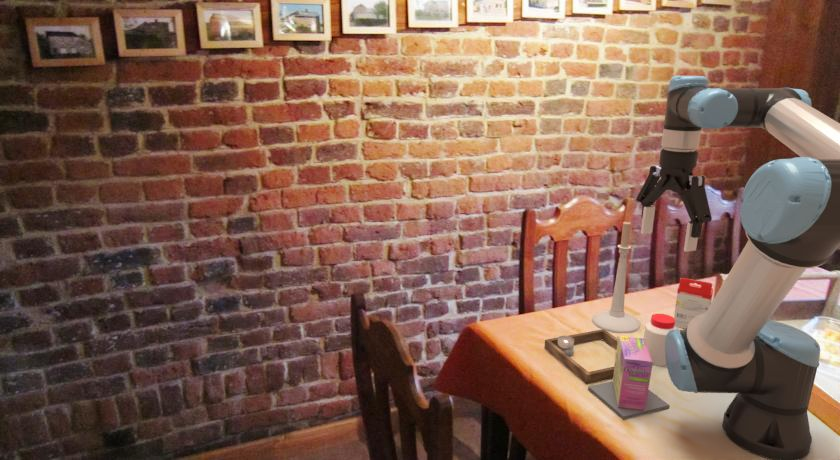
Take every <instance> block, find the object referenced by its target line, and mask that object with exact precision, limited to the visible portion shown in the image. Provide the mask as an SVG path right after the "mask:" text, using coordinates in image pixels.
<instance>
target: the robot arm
mask: <svg viewBox="0 0 840 460" xmlns="http://www.w3.org/2000/svg"><path fill="white" fill-rule="evenodd" d="M666 96H667V98H666V105H665V114H664V122H663V124H664V125H663V130H662V137H661V145H660V146H661V147H662V149H661V150H660V152H659V153H660V154H659V162H658V164H659V165H651V166H650V168H649V172H648V176H647V177H646V179H645V181H644V183H643V185H642V186H641V189H640V191H639V192H638V195H637V196H636V201H637V202H639V203H641V206H642V208H641V226H640V227H641V230H640V234H641V235H648V234H652V233H653V229H654V221H655V213H656V212H655V211H656V206H655V205H656V204H655V203H656V201H658V200H659V198H661V196H662V195H663V194H664V193H665V192H666V191H672V192H674V193H676V194H677V196H679V197H680V198H681V201H682V203H683V205H684V207H685V210H686V212H687V215H688V217H689V219H690V221H687V224H686V225H687V227H686V232H685V239H684V245H683V251H684V252H685V253H686V252H687V253H688V252H694V251H695V252H696V251H697V247H698V240H699V238H700V237H701V234H702V233H701V232H702V227H703V223H709V222H711V221H712V220H713V218H712V213H711V209H710V204H709V201H708V196H707V192H706V188H705V185H706V183H705V182H706V177H705V175H694V173H693V172H694V169H695V168H696V167H697V163H698V157H699V153H698V151H697V150H698V149H699V147H700V141H701V135H702V134H701V133H702V129H704V130H719V129H723V128H754V129H755V128H761V129H763V130H764V131H766V132H767V133H769V134H770V135H771V136H772V137H774V138H775V139H777V140H778V141H779V142H780V143H782V144H783V145H785V146H786V147H788V149H790V150H791V151H792V152H794V153H795V154H797V155H798V156H799V157H798V156H795V157H791V158H779V159H774V160H770V161H768V162H767V163H764V164H763V165H760V166H759V168H757V169H756V170H755V171H754V172H753V174H752V175H751V176H750V178H749V179H748V181H747V182H746V184H745V186H744V189H743V192H742V194H741V198H742V200H743V201H742V203H740V205H739V206H740V207H739V208H740V209H739V214H740V222H741V225H742V227H743V229H744V232H745V236H746V237H747V239H748V240H747V241H746V244H745V246H743V249H742V250H741V252H740V254H739V256H738V257H737V258H736V261H735V262H734V264H733V266H732V268H731V269H730V271H729V273H728V274H727V276H726V278H725V279H724V281H723V283H722V284H721V286H720V288H719V289H718V291H717V293H716V294H715V296H714V298H713V299H712V301H711V305H710V306H709V308H708V310H707V311H706V313H704V314H700V315H698V316H696V317H694V318H693V319H692V320H691V321H690V323H689V324H688V326H687V328H686V329H680V328H678V329H676V330H670V331H669V332H668V333H667V335H666V339H665V358H666V364H667V366H666V368H667V369H666V370H667V372H668V375H669V378H670V380H671V384H673V386H675V387H676V389H678V390H679V391H682V392H689V393H695V394H698V393H701V394H703V393H704V394H705V393H706V394H707V393H708V394H709V393H710V394H713V393H714V394H715V393H716V394H736V395H735V396H734V397H733V399H732V401H731V402H730V403H729V405H728V407H727V408H726V410H725V411H724V414H723V419H722V423H721V425H722V430H723V431H724V433H725V435H726V436H727V437H728V438H729V439H730V440H731V441H732V442H733V443H734V444H736V445H737V446H738V447H741V448H742V449H744V450H746V451H748V452H750V453H752V454H754V455H756V456H757V455H758V456H759V457H763V458H766V459H770V460H803V459H804V458H806V457H807V456H808V455H809V454H810V451H811V447H812V442H813V441H812V440H813V436H812V434H811V429H810V422H809V416H808V410H809V405H810V401H811V396H812V392H813V387H814V383H815V379H816V375H817V371H818V368H819V367H820V357H821V356H820V355H821V347H820V345H819V344H820V343H819V342H818V341H817V340H816V339H815V338H814V337H812V335H810V334H808V333H807V332H805V331H803V330H801V329H799V328H796V327H794V326H791V325H789V324H786V323H783V322H778V321H776V320H770V319H771V317H772V316H773V315H774V314H775V312H776V310H777V309H778V308H779V306H780V305H781V304H782V303H783V301H784V300H785V298H787V295H788V294H789V293H790V292H791V290H792V288H793V287H794V286H795V285H796V284H797V282H798V281H799V279H800V278H801V277H802V276H803V274H804V273H805V271H806V270H807V269H814V268H818V267H819V266H823V265H824V264H826V263H827V261H829V259H830V258H831V256H833V254H834V253H835V252H836V250H837V249H838V247H840V122H838V121H836V120H835V119H833V118H831V117H829V116H828V115H826V114H824V113H823V112H821V111H819V110H818V109H816V108H815V107H812V99H811V98H810V96H809V93H808V92H807V91H806V90H803V89H801V88H791V87H780V88H779V87H778V88H777V87H772V88H770V87H769V88H768V87H767V88H766V87H765V88H763V87H762V88H761V87H760V88H758V87H757V88H756V87H755V88H752V87H751V88H743V87H742V88H741V87H739V88H738V87H709V79H708V77H707V76H705V75H704V76H703V75H674V76H672V77H671V78H670V81H669V85H668V89H667V92H666Z"/></svg>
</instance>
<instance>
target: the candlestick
mask: <svg viewBox="0 0 840 460" xmlns="http://www.w3.org/2000/svg"><path fill="white" fill-rule="evenodd" d="M631 226H632V223H631V221H630V222H629V221H623V222H622V229H621V231H622V232H621V240H620V244H618V245H617V248H618V253H619V258H618V263H617V269H616V276H615V283H614V287H613V294H612V300H611V301H612V302H611V306H610V309H606V310H601V311H598V312H596V313H595V314H593V315H592V320H591V321H592V323H593V324H594V325H595V327H597V328H599V329H600V330H601V329H604V330H605V331H607V332H608V333H609V332H611V333H614V334H631V333H635V332H637V331H638V330H640V327H641V323H640V321H639V320H638V319H637V317H635V316H633V315H632V314H631V313H628V312H626V311H625V297H626V296H625V293H626V278H627V274H626V273H627V263H628V262H627V261H628V259H627V256H628V254H629V253H630V251H629V250H630V249H631V248H632V246H631V245H630V244H629V242H630V235H631Z"/></svg>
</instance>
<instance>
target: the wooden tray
mask: <svg viewBox="0 0 840 460" xmlns="http://www.w3.org/2000/svg"><path fill="white" fill-rule="evenodd" d="M568 336H570V337H572V338H573V339H574V346H575V345H580V344H584V343H591V342H595V341H601V340H602V341H603V342H605V343H606V344H607V345H609V346H611V348H613V349H615V350H617V342H618V337H616V336H614V335H612V334H611V333H609V331H606V330H604V329H601V328H600V329H597V330H592V331H587V332H581V333H575V334H570V335H568ZM557 344H558V337H554V338H548V339H544V349H545V350H546V351H547V352H548V353H549V354H551V355H552V356H553V357H554V358H555V359H557V360H558V361H559V362H560V363H561V364H562V365H563V366H565V367H566V368H567V369H568V370H569V371H570V372H571V373H573V374H574V375H575V376H576V377H577V378H579V380H581V381H582V382H583V383H585V385H588V384H594V383H598V382H602V381H607V380H613V375H614V366H611V367H610V366H609V367H606V368H602V369H601V368H600V369H597V370H596V369H595V370H592V371H591V370H590V371H588V370H587V369H585V368H584V367H583V366H581V364H580V363H578V362H577V361H576V360H574V359H573V358H572V356H571V357H569V356H568V355H567V354H566V353H565V352H563V351H562V350H561V349H560V348H558V347H557Z"/></svg>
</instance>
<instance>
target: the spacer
mask: <svg viewBox="0 0 840 460" xmlns="http://www.w3.org/2000/svg"><path fill="white" fill-rule="evenodd" d="M557 338H558V344H557V347H558V348H560V349H561V350H562V351H563V352H565V353H566V354H567V355H568V356H569V357H571V358H572V356H574V348H575V347H574V346H575V345H574V339H573V338H572V337H570V336H569V335H560V336H558V337H557Z"/></svg>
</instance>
